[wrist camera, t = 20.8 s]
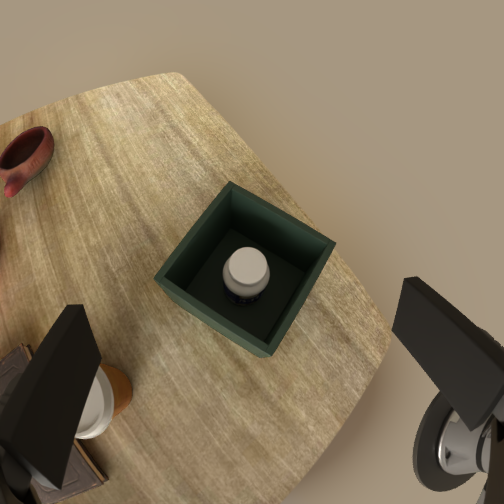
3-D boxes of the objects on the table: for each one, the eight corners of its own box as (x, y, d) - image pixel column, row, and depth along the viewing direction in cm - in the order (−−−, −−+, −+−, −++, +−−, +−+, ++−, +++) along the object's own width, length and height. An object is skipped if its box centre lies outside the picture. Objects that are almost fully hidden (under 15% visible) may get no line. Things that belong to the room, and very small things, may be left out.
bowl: (7, 171, 44) (-11, 149, 36) (51, 133, 48) (37, 108, 40) (24, 219, 40) (0, 197, 33) (75, 173, 44) (57, 146, 37)
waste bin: (311, 272, 41) (336, 242, 31) (260, 358, 36) (271, 356, 26) (229, 223, 43) (229, 180, 33) (172, 301, 38) (152, 278, 28)
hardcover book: (29, 344, 33) (21, 343, 31) (109, 479, 28) (103, 484, 25) (-20, 384, 29) (-28, 384, 27) (47, 504, 23) (41, 508, 21)
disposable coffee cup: (70, 385, 32) (19, 388, 21) (108, 340, 35) (63, 329, 24) (116, 435, 30) (76, 458, 19) (158, 390, 34) (127, 401, 22)
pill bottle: (240, 314, 37) (242, 300, 29) (215, 282, 39) (211, 260, 30) (272, 290, 39) (283, 269, 30) (247, 259, 40) (252, 231, 32)
